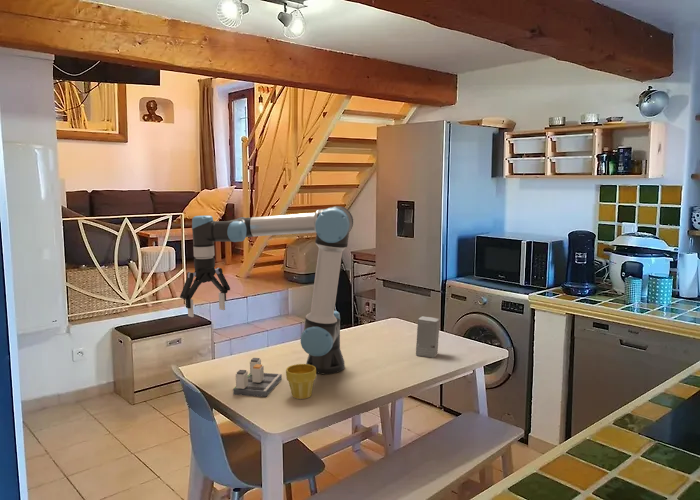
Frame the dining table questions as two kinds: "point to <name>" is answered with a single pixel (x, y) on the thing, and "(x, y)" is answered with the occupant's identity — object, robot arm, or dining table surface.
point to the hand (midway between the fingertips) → (207, 313)
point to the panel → (259, 386)
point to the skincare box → (427, 336)
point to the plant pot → (301, 380)
